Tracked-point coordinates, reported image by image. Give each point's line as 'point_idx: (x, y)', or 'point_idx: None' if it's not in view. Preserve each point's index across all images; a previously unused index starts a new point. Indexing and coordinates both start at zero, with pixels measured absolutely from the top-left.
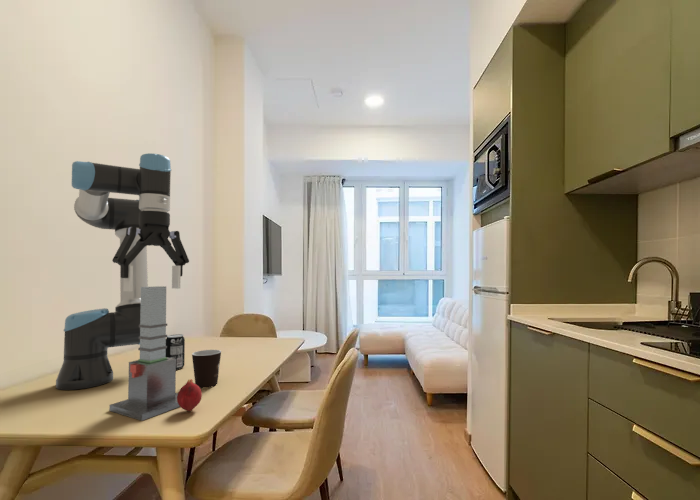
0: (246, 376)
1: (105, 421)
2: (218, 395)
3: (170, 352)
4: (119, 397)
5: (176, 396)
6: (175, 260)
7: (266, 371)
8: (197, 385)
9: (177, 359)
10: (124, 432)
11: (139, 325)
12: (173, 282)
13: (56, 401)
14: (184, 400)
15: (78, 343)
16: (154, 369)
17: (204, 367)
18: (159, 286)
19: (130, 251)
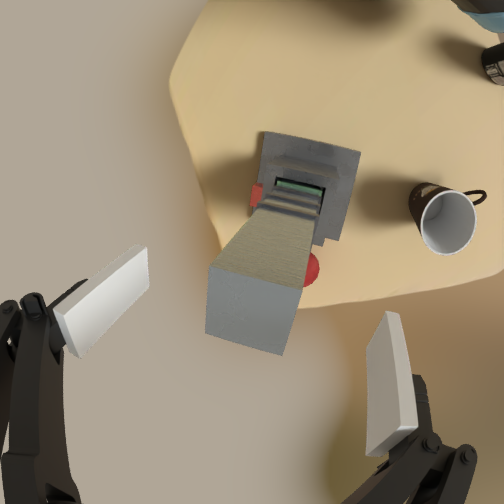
0: (474, 248)
1: (235, 166)
2: (376, 258)
3: (500, 61)
4: (323, 86)
5: (333, 213)
6: (373, 479)
7: (497, 267)
8: (306, 284)
9: (500, 77)
10: (219, 224)
11: (256, 206)
12: (384, 343)
13: (268, 7)
14: None
15: None
16: None
17: (417, 226)
18: (283, 322)
19: (18, 389)
